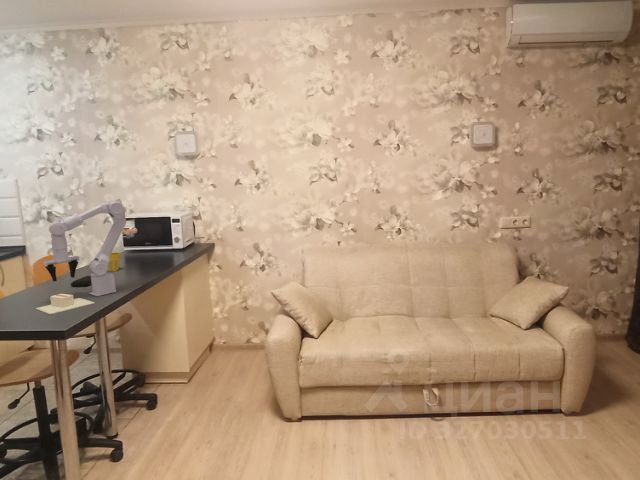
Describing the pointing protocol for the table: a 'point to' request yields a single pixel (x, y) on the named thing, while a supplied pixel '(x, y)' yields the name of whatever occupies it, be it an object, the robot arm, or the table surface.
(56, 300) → the card deck box
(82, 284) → the carrying case or bag
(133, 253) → the table surface
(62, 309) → the mat
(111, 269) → the plant pot
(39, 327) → the table surface
